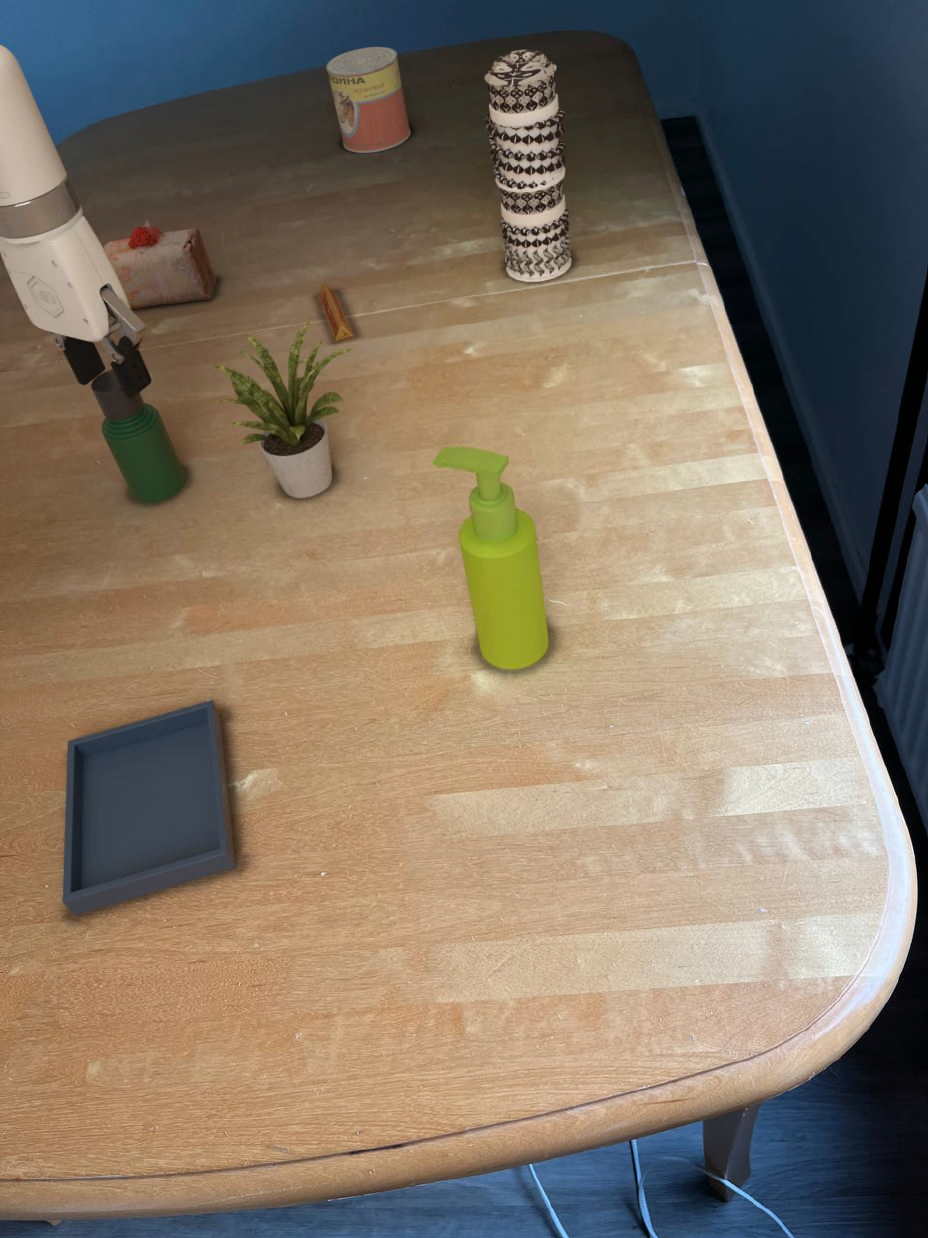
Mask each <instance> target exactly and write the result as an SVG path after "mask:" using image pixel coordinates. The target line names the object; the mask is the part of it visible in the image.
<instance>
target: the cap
mask: <svg viewBox="0 0 928 1238" xmlns="http://www.w3.org/2000/svg"><path fill="white" fill-rule="evenodd" d="M90 389H91V391H92V393H93V395H94V397H95V399H96V401H97V403H98V405H99V408H100V409H101V411H102V414H103V416H104V418H105V417H106V418H108V419H110V420H122V419H126V418H129V417H131V416H133V415H135V414H136V413H138V412H139V411H140V410H141V409H142V407H143V405H144V403H145V401H144V399H143V396H142V394H141V392H140V393H138V394H137V395H136V396H135V397H133V398H128V397H126V396H125V394H124V392H123V390H122V388H121V386H120V384H119V382H118V380H117V377H116V375H115V373H114V371H113V369H110V370H107V371H103V372H102V373H101V374H99V375H98V376H97V377H96V378H94V379H93V380H92V381H91V385H90Z"/></svg>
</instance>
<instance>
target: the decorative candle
mask: <svg viewBox="0 0 928 1238" xmlns="http://www.w3.org/2000/svg"><path fill="white" fill-rule="evenodd" d="M548 59H549V58H547V56H546V55H545V54H544V53H543V52H542V51H538V50H535V49H517V50H513V51H509V52H506V53H503V54H502V55H500V56H498V57H497V58H496V59H495V60H494V62H493V64H492V67H491V69H490V70H488V71H487V72H486V73H485V75H484V81H485V82H486V83H487V84H488V94H489V99H490V100H489V105H488V109H489V112H488V113H487V116H486V118H485V120H484V121H485V124H486V125H485V129H486V131H488V132H489V134H490V135H489V136H488V138H487V140H488V143H489V148H490V151H489V152H490V154H491V155H490V159H491V161H493V162H494V165H493V170H492V171H493V172H494V177H495V181H494V182H495V184H496V186H497V187H498V188H500V197H501V203H500V211H501V217H500V226H501V227H502V229H501V238H502V239H503V244H502V246H503V247H502V250H503V253H504V263H505V265H506V269H505V271H506V273H507V274H508V276H509V277H511V278H513V279H514V280H517V281H521V282H527V283H534V282H535V283H536V282H537V283H538V282H544V281H548V280H552V279H555V278H557V277H559V276H561V275H563V274H565V273H566V272H567V271H568V270H569V269H570V268H571V265H572V258H571V256H572V252H571V250H572V247H571V246H570V245H571V240H570V239H571V235H570V234H569V233H568V232H569V231H570V222H569V221H568V219H569V209H568V208H567V207H566V196H565V194H564V191H563V188H564V186H563V179H564V178H565V175H566V168H565V166H564V165H565V164H566V163H567V160H566V156H565V155H564V154H563V153H564V151H565V150H566V144H565V142H564V141H563V140H561V139H559V138H561V137H562V135H563V134H565V132H566V127H565V124H564V123H562V122H563V120H564V119H565V116H566V115H565V114H566V113H565V112H564V111H563V109H562V108H559V107H560V106H559V95H558V94H557V91H556V76H555V73H556V71H557V65H556V64H555V63H554V62H553V61H551V60H548Z"/></svg>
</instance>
